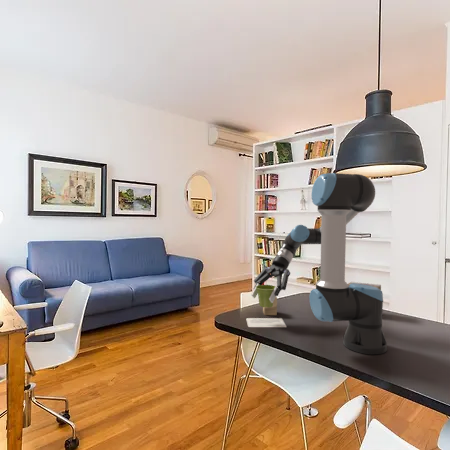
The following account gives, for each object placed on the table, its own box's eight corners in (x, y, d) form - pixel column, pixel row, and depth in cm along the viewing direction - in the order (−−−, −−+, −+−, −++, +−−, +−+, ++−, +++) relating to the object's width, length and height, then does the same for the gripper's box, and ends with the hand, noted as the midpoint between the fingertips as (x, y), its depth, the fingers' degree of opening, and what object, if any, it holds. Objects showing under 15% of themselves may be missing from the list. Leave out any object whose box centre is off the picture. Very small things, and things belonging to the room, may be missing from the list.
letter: (286, 327, 143) (286, 327, 143) (248, 327, 143) (248, 326, 143) (281, 318, 155) (281, 318, 155) (246, 318, 155) (246, 318, 155)
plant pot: (266, 310, 142) (267, 290, 142) (251, 305, 149) (251, 286, 149) (280, 306, 148) (280, 287, 148) (265, 301, 155) (265, 283, 155)
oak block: (276, 315, 160) (276, 297, 160) (264, 315, 160) (264, 297, 159) (274, 311, 166) (274, 294, 166) (262, 311, 166) (263, 294, 165)
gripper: (261, 252, 163) (239, 289, 152) (299, 257, 147) (278, 298, 137) (267, 262, 167) (246, 298, 156) (305, 267, 151) (285, 308, 141)
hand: (261, 298), depth 146 cm, fingers closed on plant pot, 9 cm apart
